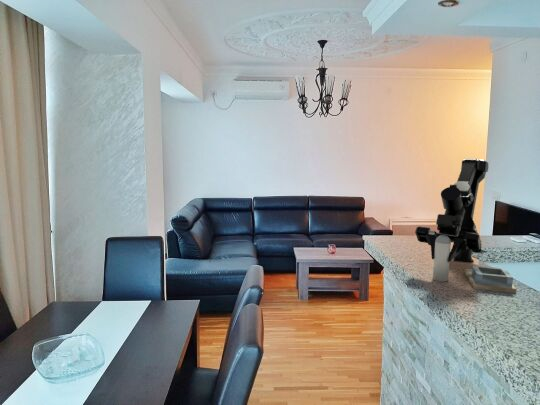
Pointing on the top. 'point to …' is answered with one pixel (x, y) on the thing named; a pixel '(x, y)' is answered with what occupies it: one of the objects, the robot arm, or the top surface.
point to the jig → (490, 279)
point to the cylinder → (441, 258)
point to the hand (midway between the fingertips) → (440, 260)
